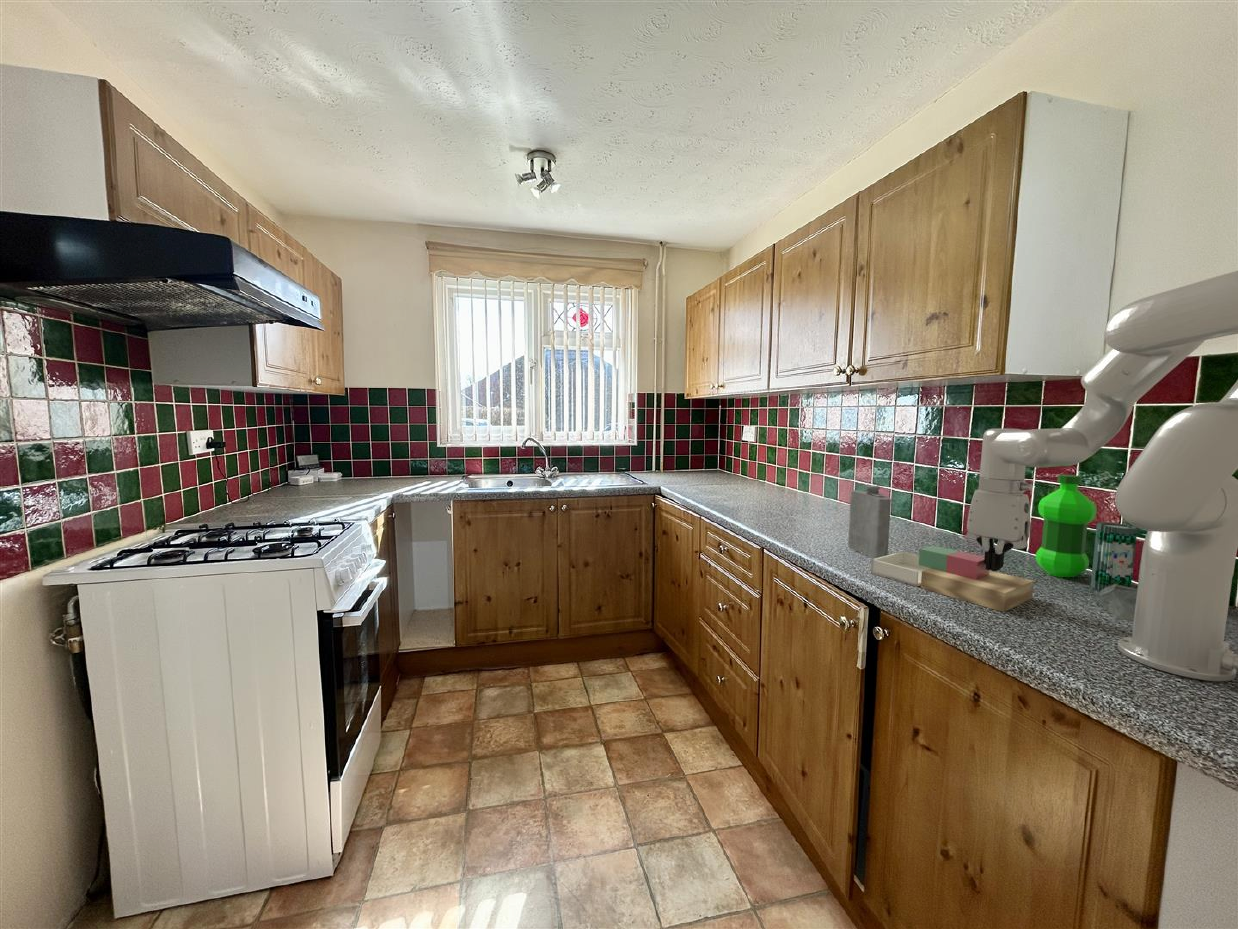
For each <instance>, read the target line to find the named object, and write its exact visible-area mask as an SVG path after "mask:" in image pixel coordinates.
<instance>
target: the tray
mask: <svg viewBox="0 0 1238 929" xmlns="http://www.w3.org/2000/svg"><path fill="white" fill-rule="evenodd" d="M870 564H871V565H870V566H871V567H870V574H871V573H873V574H872V575H875V574H876V576H878V575H879V577H882V578H885V577H887V578H886V579H888V578H890V579H889V580H892V579H893V581H896V582H899V583H902V584H906V583H907V584H906V585H909V586H913V587H921V577H922V571H924V570H927V569H930V568H927V567H923V566H919V554H916V553H915V554H914V553H910V552H906V551H903V550H902V551H899V552H895V553H891V554H888V555H887V556H883V557H879V558H875V559H871V563H870Z"/></svg>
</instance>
